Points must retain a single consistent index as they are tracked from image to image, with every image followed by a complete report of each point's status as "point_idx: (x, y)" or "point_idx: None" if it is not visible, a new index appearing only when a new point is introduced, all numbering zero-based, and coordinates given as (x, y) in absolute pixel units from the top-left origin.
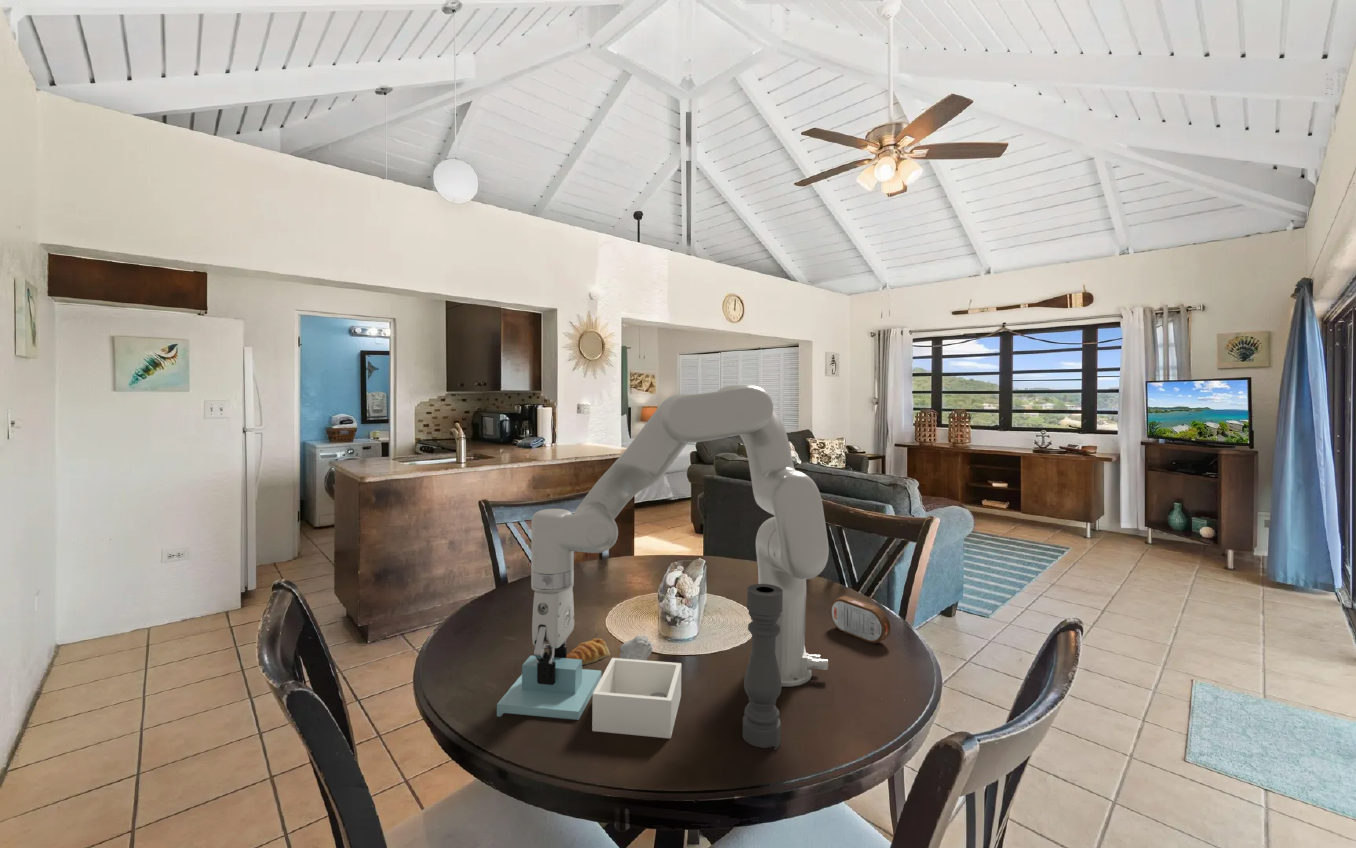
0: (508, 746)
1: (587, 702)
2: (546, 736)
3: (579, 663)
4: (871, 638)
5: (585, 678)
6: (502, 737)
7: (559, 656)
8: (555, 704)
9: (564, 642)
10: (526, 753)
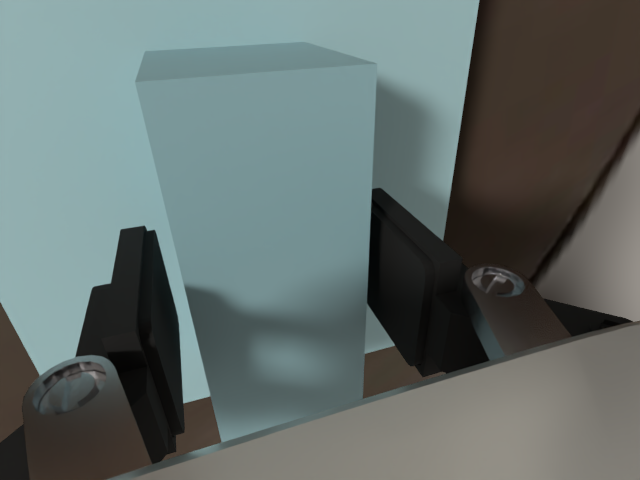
0: (557, 181)
1: None
2: (520, 75)
3: (240, 75)
4: None
5: (58, 50)
6: (511, 224)
7: (163, 319)
8: (421, 116)
9: (124, 398)
10: (601, 103)
